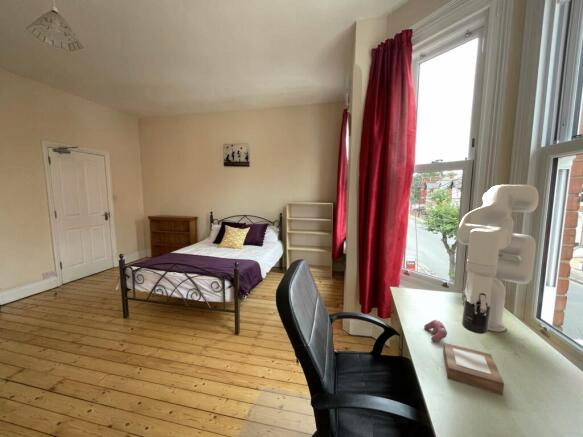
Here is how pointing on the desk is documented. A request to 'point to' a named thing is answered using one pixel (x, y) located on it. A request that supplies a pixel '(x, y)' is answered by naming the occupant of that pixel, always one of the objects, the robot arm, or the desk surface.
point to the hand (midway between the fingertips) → (475, 319)
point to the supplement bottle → (468, 318)
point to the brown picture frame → (472, 368)
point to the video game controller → (436, 330)
